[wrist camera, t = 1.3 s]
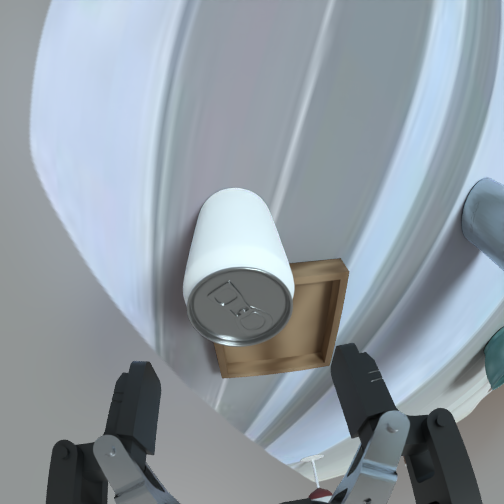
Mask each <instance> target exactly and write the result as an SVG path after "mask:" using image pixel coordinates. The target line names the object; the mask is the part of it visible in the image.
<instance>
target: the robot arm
mask: <svg viewBox="0 0 504 504" xmlns="http://www.w3.org/2000/svg"><path fill="white" fill-rule="evenodd" d="M462 231H463V234H464V236H465V237H466V239H467V240H469V241H470V242H471V243H472V244H473V245H475V246H476V247H477V248H478V249H479V250H481V251H482V252H483V253H484V254H485V255H486V256H487V257H489V258H490V259H491V260H492V261H493V262H494V263H495V264H497V265H498V266H499V267H500V268H501V269H502V270H503V271H504V185H503V184H501V183H499V182H497V181H495V180H493V179H490V178H485V179H482V180H481V181H479V182H478V183H477V184H476V185H475V186H474V187H473V189H472V190H471V192H470V194H469V196H468V198H467V200H466V203H465V206H464V210H463V215H462ZM331 376H332V380H333V382H334V385H335V388H336V391H337V395H338V398H339V401H340V404H341V407H342V410H343V413H344V416H345V419H346V422H347V425H348V429H349V432H350V435H351V438H355V437H359V438H360V441H361V443H360V445H359V447H358V450H357V452H356V454H355V456H354V458H353V460H352V462H351V465H350V467H349V469H348V471H347V473H346V475H345V476H344V478H343V480H342V481H341V482H340V484H339V485H338V487H337V488H336V490H335V492H334V494H333V495H332V497H331V499H330V500H329V502H328V503H327V502H323V501H316V500H311V498H307V499H302V500H296V501H289V502H283V503H281V504H365V503H366V504H387V502H388V500H389V497H390V495H391V493H392V490H393V488H394V485H395V483H396V480H397V473H396V468H397V465H398V463H399V460H400V457H401V456H404V458H405V462H406V465H407V469H408V472H409V476H410V480H411V484H412V488H413V492H414V496H415V500H416V504H482V500H481V496H480V492H479V488H478V485H477V481H476V478H475V475H474V472H473V468H472V466H471V462H470V459H469V456H468V454H467V451H466V448H465V446H464V443H463V440H462V438H461V435H460V432H459V430H458V427H457V425H456V422H455V420H454V418H453V415H452V414H451V413H450V412H449V411H448V410H447V409H444V408H437V409H435V410H433V411H432V412H431V413H430V414H429V415H419V416H408V415H405V414H404V413H402V412H400V411H399V410H398V409H397V408H396V406H395V405H394V402H393V400H392V398H391V395H390V393H389V391H388V389H387V387H386V384H385V382H384V380H383V379H382V376H381V374H380V371H379V369H378V367H377V365H376V363H375V361H374V359H373V358H371V357H370V356H369V355H368V354H367V353H366V352H364V353H359V351H358V349H357V347H356V345H355V344H354V343H349V344H344V345H339V346H337V347H336V349H335V353H334V357H333V361H332V364H331ZM160 396H161V384H160V381H159V378H158V377H157V375H156V373H155V371H154V369H153V367H152V365H151V363H150V362H142V361H141V362H140V361H133V362H132V363H131V365H130V369H129V373H122V375H121V376H120V377H119V379H118V380H117V382H116V385H115V389H114V394H113V398H112V402H111V406H110V410H109V414H108V419H107V424H106V429H105V432H104V434H103V436H101V437H99V438H98V439H97V440H96V441H95V442H93V443H87V444H79V445H74V444H73V443H72V442H70V441H68V440H60V441H58V442H57V443H56V444H55V446H54V447H53V450H52V456H51V462H50V469H49V477H48V485H47V496H46V504H107V493H108V482H109V483H110V485H111V487H112V488H113V490H114V492H115V497H114V499H115V502H116V504H180V503H179V502H178V501H177V500H176V499H175V498H174V497H173V496H172V495H171V494H170V493H169V492H168V491H167V490H166V489H165V487H164V486H163V485H162V483H161V482H160V481H159V479H158V478H157V477H156V475H155V474H154V473H153V471H152V470H151V468H150V467H149V465H148V464H147V463H146V454H149V455H154V452H155V440H156V430H157V421H158V413H159V405H160Z"/></svg>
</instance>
